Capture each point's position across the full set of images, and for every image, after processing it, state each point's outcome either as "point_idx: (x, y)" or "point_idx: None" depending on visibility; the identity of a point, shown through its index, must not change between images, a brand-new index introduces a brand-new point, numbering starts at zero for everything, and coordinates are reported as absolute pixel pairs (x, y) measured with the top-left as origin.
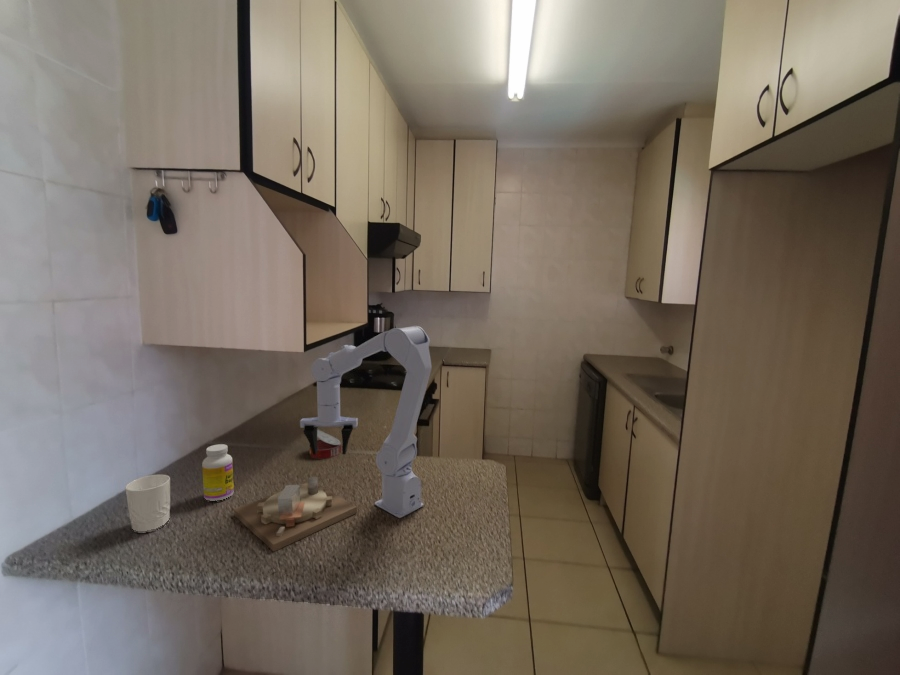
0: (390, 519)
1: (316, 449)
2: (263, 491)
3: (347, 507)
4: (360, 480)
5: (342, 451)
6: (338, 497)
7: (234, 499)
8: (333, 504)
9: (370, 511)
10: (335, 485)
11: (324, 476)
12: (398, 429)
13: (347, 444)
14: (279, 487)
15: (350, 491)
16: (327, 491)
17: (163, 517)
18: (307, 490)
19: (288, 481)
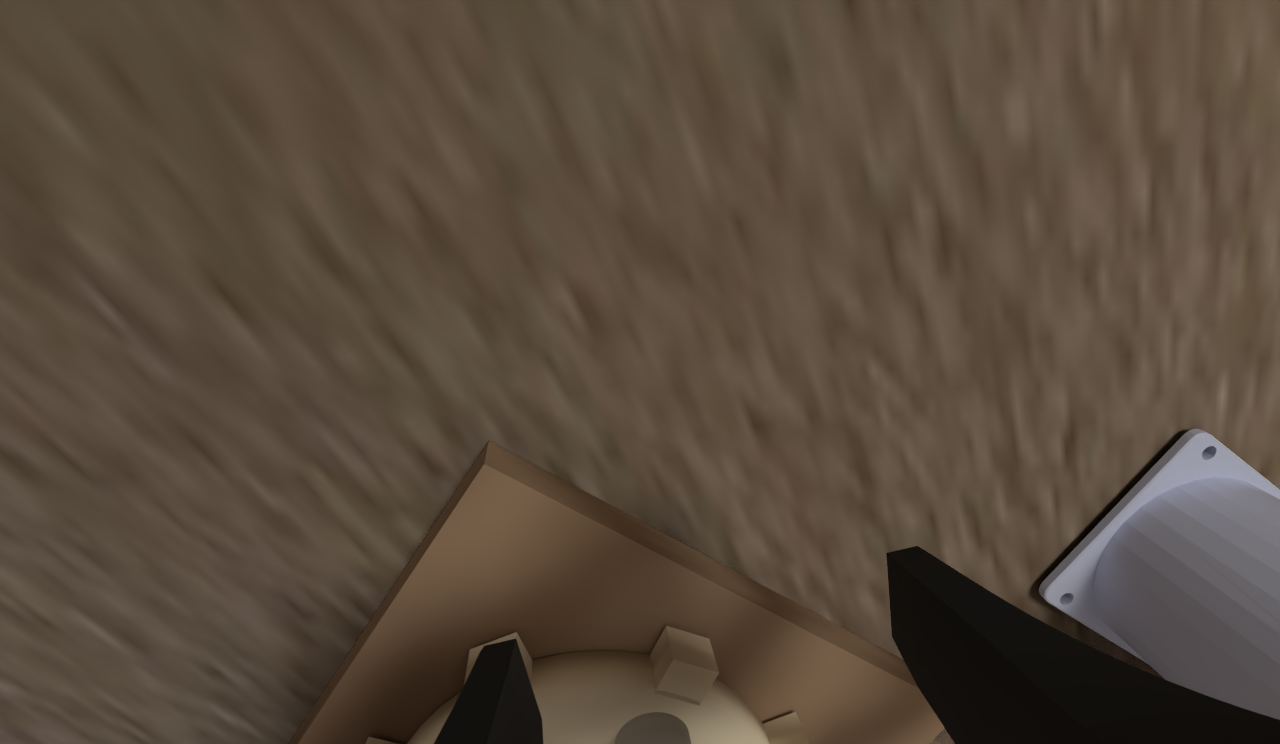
0: None
1: (525, 716)
2: (142, 593)
3: (906, 728)
4: (865, 267)
5: (915, 676)
6: (812, 645)
7: (28, 725)
8: (808, 720)
9: None
10: (678, 394)
11: (496, 246)
12: None
13: (990, 599)
14: (220, 514)
15: (831, 460)
16: (702, 596)
17: None
18: (596, 729)
19: (214, 405)
